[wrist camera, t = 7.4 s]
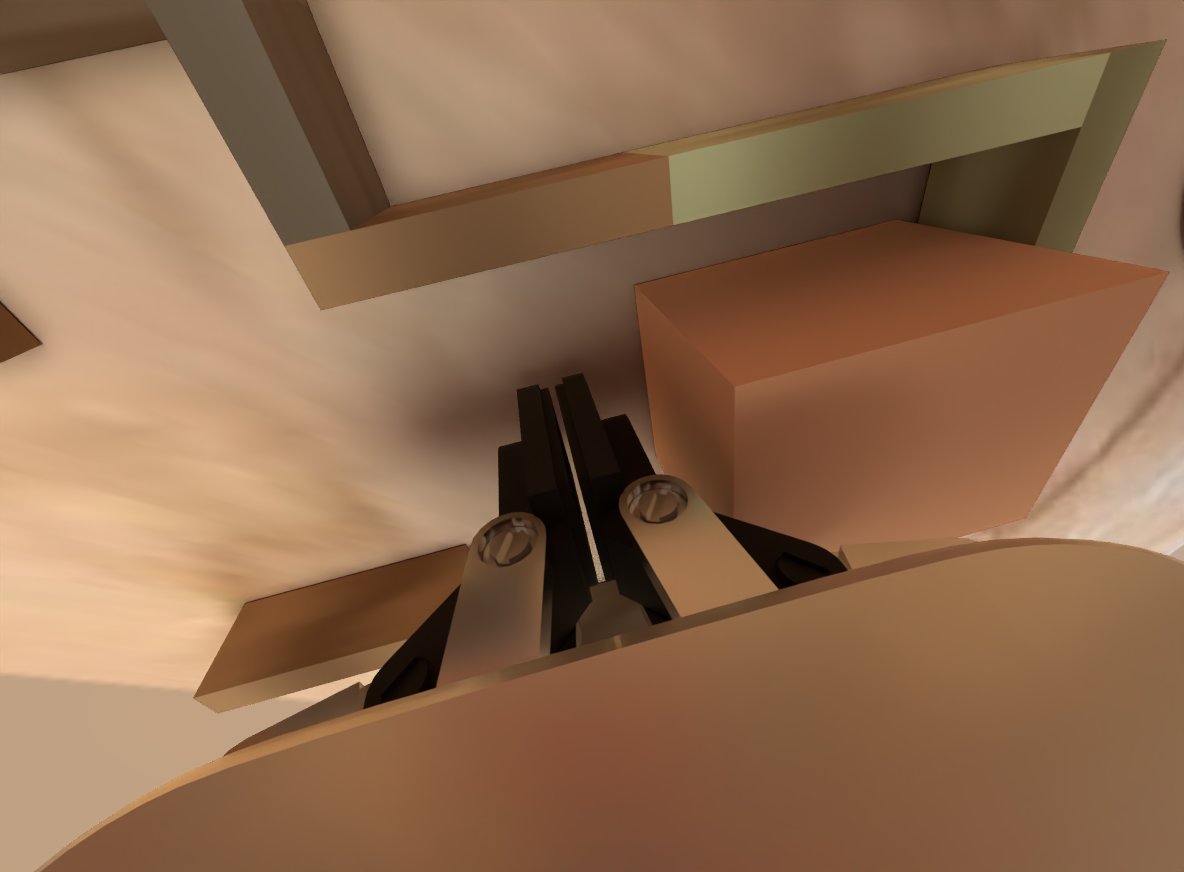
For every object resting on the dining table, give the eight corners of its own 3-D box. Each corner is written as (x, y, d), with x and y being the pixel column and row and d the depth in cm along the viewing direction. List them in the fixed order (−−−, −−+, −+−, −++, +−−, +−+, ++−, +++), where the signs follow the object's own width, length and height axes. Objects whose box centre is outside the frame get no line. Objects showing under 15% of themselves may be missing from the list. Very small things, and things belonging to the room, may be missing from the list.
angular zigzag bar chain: (1080, -245, 7) (1380, -442, 5) (867, 525, 18) (924, 584, 16) (-383, 52, 6) (-945, -5, 4) (325, 675, 17) (297, 762, 15)
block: (896, 219, 11) (1169, 271, 7) (858, 400, 14) (1026, 517, 10) (633, 285, 11) (734, 387, 6) (655, 455, 14) (732, 603, 9)
